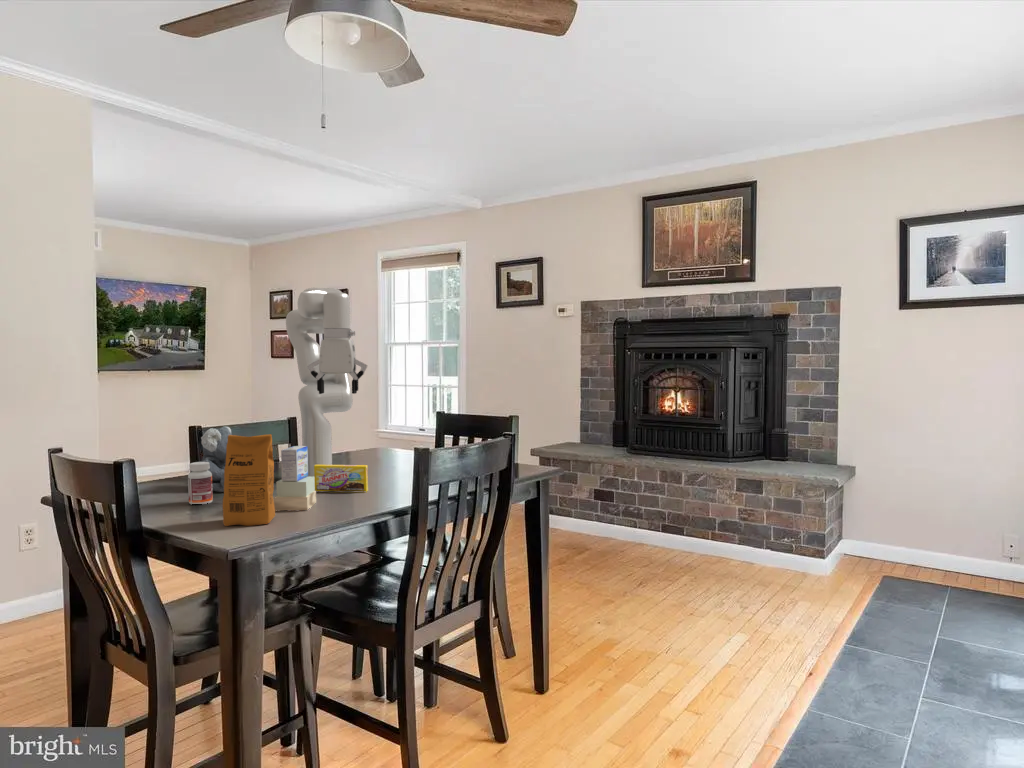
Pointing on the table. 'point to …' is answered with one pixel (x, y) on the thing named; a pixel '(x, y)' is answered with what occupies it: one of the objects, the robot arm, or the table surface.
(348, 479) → the candy box
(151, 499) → the table surface
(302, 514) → the table surface
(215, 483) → the koala plush
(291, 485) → the sage block
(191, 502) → the pill bottle
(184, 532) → the table surface
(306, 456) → the medicine box
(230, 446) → the coffee package
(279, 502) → the maple block
